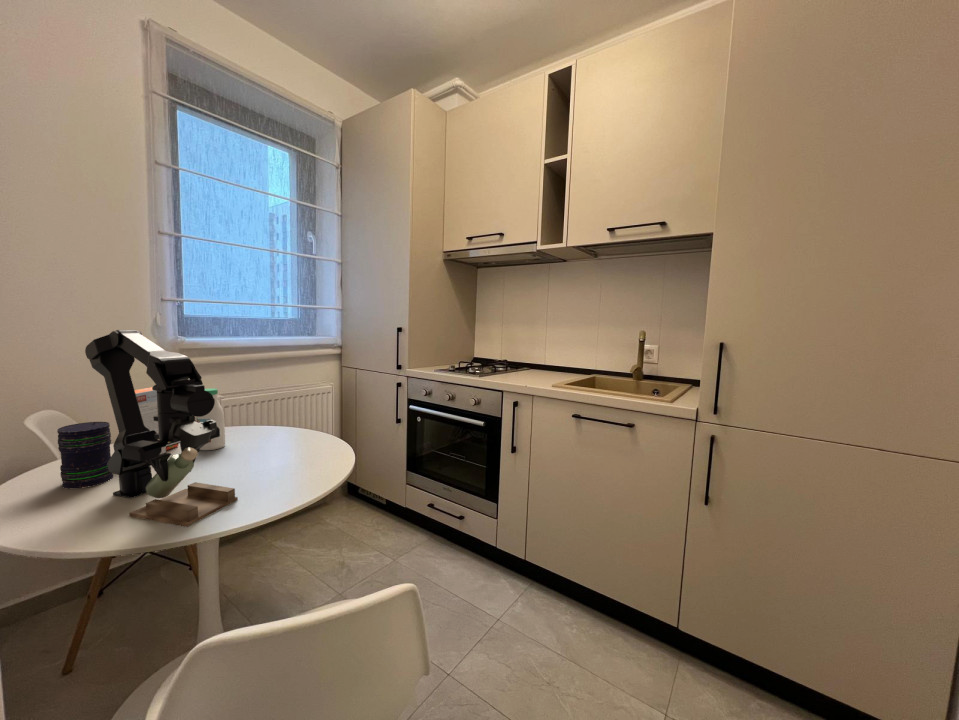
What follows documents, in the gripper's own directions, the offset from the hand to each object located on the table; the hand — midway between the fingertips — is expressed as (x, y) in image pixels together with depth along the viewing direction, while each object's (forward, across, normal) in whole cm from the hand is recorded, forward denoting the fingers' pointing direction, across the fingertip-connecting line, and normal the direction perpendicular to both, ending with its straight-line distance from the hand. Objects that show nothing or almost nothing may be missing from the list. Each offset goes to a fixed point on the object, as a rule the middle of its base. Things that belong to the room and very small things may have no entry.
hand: (177, 476), depth 91 cm
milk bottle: (+8, +35, +29) cm, 46 cm away
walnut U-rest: (+7, 0, -1) cm, 8 cm away
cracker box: (+8, +25, +42) cm, 50 cm away
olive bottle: (+4, 0, +6) cm, 7 cm away
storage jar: (+8, +4, +35) cm, 36 cm away
